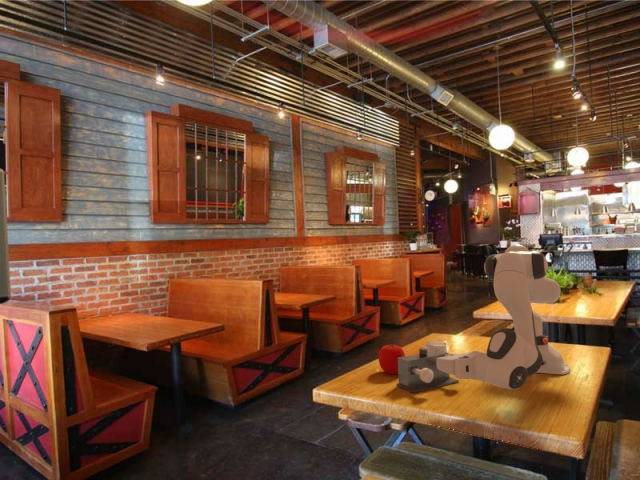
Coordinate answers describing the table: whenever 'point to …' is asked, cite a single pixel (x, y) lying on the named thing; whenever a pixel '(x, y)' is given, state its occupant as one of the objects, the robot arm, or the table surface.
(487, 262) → the robot arm
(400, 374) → the mount
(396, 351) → the tomato
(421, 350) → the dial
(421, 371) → the knob
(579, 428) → the table surface
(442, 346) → the cup
